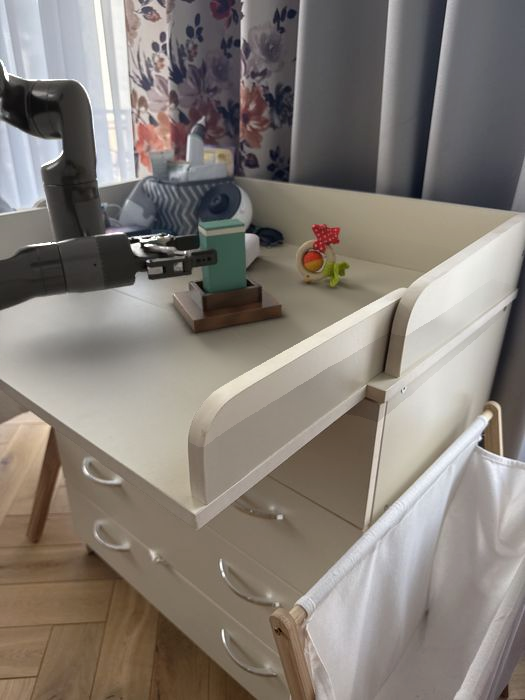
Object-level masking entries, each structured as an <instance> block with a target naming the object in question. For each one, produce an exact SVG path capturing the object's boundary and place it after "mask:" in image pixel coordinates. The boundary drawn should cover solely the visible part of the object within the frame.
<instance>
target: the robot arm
mask: <svg viewBox="0 0 525 700" xmlns="http://www.w3.org/2000/svg"><path fill="white" fill-rule="evenodd" d="M0 121H1V122H3V123H5V124H7V125H9V126H10V127H13V128H14V129H17V130H19V131H21V132H22V133H24V134H26V135H29V136H30V137H33V138H36V139H39V140H46V141H61V146H62V148H61V149H62V151H61V153H60V155H59V156H58V157H57V158H55V159H53V160H50V161H48V162H46V163H44V164H42V165H41V167H40V176H41V182H42V186H43V192H44V197H45V202H46V207H47V211H48V218H49V222H50V227H51V228H50V229H51V233H52V236H53V238H52V239H53V241H54V242H52V241H51V242H52V243H51V242H45V243H38V244H37V243H36V244H28V245H24V246H20V247H18V248H17V249H15V250H14V252H13V253H12V255H11V256H9V257H6V258H3V259H0V312H1V311H4V310H6V309H7V310H8V309H9V308H13V307H15V306H18V305H22V304H23V303H26V302H29V301H30V300H33V299H37V298H44V297H45V298H47V297H53V296H60V295H66V294H84V293H92V292H98V291H104V290H105V291H106V290H112V289H119V288H123V287H131V286H133V285H134V284H135V283H136V279H137V277H136V274H138V273H147V279H148V280H150V281H154V280H161V279H162V280H163V279H170V278H176V277H177V278H178V277H184V276H191V275H192V273H193V269H194V268H195V269H196V268H200V267H201V268H202V266H208V265H215V264H217V262H218V258H217V251H216V250H215V249H214V248H211V249H203V250H200V236H199V234H196V233H192V234H185V235H176V236H174V235H172V234H167V233H166V232H160V233H152V234H146V235H145V234H144V235H139V236H131V237H129V236H128V235H127V234H126V233H125V232H124V231H123V232H122V231H121V232H113V233H106V228H105V221H104V214H103V208H102V201H101V195H100V189H99V188H100V187H99V182H98V176H97V165H98V164H97V163H98V156H97V155H98V154H97V148H96V147H97V146H96V139H95V128H94V127H95V126H94V116H93V109H92V105H91V100H90V97H89V94H88V92H87V90H86V88H85V87H84V86H83V84H81V82H80V81H78V80H75V79H65V78H64V79H63V78H62V79H60V78H59V79H27V78H22V77H19V76H17V75H14V74H11V73H8V72H7V70H6V67H5V66H4V63H3V61H2V60H1V59H0Z"/></svg>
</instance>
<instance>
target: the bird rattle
mask: <svg viewBox="0 0 525 700" xmlns="http://www.w3.org/2000/svg"><path fill="white" fill-rule="evenodd" d="M311 230H312V233H313V235H314V237H315V238H316V239H310V240H307V241H305V242H304V243H303V244H302V245H300V247H299V249H298V250H297V251H296V255H295V264H296V267H297V270H298V272H299V274H301V276H302V277H303V281H304V282H305V283H310V282H318V281H319V282H320V281H322V280H325V279H327V278H328V281H329V286H330V287H331V288H335V287H336V286H337V284H338V283H340V279H339V276H340V277H345V276H346V270H348V269H350V264H349V263H348V262H347V261H341V262H337V256H336V253H335V251H334V249H333V247H332V246H331V244H333V245H338V244H340V242H341V240H340V237H339V235H340V231H341V227H339V226H338V227H337V226H335V227H329V226H328V225H327V224H325V223H322V224H317V223H316V224H315V223H314V224H313V225H311ZM322 254H323V255H324V256H323V255H322ZM325 258H326V261H325V260H324V259H325ZM324 262H325V263H324ZM321 269H322V270H321Z"/></svg>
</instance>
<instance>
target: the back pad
mask: <svg viewBox="0 0 525 700" xmlns="http://www.w3.org/2000/svg"><path fill="white" fill-rule="evenodd" d="M245 225H246V224H245V222H243V221H241V220H240V219H237V218H229V219H220V220H211V221H210V220H209V221H202V222H198V233H199V234H198V236H199V239H200V247H199V250H203V249H211V248H214V249H215V250H216V251H217V258H218V262H217V264H215V265H208V266H201V275H202V277H201V278H202V279H203V292H204V293H205V294H207V293H213V292H219V291H225V290H232V289H238V288H244V287H247V280H246V274H247V268H246V250H245V233H246V226H245Z"/></svg>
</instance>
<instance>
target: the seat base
mask: <svg viewBox="0 0 525 700" xmlns="http://www.w3.org/2000/svg"><path fill="white" fill-rule="evenodd" d="M246 280H247V287H244V288H238V289H232V290H225V291H219V292H213V293H207V294H205V293H204V292H203V278H202V279H195V280H189V281H188V290H186V291H185V290H184V291H180V292H173V293H172V301H173V306H174V307H175V309H176V310H177V311H178V312H179V314H180V315H181V316H182V318H183V319H184V321H185V322H186V323H187V325H188V326H189V327H190V329H191V330H192V331H193V333H200V332H205V331H211V330H215V329H222V328H227V327H231V326H237V325H238V326H239V325H242V324H248V323H253V322H258V321H264V320H270V319H274V318H275V319H276V318H279V317H282V304H281V303H280V302H279V301H278V300H276V299H275V298H274V297H273V296H271V294H269V293H268V292H267V291H265V290H264V289H263V286H262V285H261V284H260V283H259V282H257V281H256V280H255V279H253V278H252V277H251V276H250V275H249V274H247V273H246Z"/></svg>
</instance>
